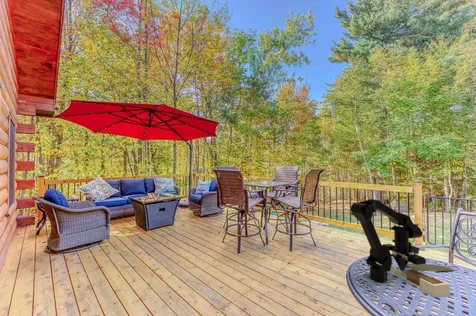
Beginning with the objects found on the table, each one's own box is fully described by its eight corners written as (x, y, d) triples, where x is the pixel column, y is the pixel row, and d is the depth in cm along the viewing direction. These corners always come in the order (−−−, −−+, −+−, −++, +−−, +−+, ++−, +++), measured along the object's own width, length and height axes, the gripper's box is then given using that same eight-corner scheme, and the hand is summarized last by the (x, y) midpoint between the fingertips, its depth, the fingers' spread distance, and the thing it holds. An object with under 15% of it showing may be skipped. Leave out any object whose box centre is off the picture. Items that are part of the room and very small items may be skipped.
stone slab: (401, 268, 117) (418, 274, 107) (400, 262, 118) (417, 268, 108) (437, 267, 119) (457, 273, 110) (436, 261, 120) (456, 267, 110)
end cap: (435, 297, 87) (434, 285, 87) (419, 288, 93) (419, 278, 93) (450, 294, 88) (449, 283, 88) (434, 287, 94) (433, 276, 94)
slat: (434, 294, 89) (434, 283, 89) (406, 279, 101) (406, 269, 101) (442, 293, 90) (441, 282, 90) (413, 278, 101) (412, 269, 102)
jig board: (436, 299, 87) (435, 297, 87) (382, 269, 112) (382, 268, 112) (449, 297, 88) (449, 295, 88) (393, 268, 113) (393, 267, 113)
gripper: (434, 244, 98) (436, 279, 97) (397, 232, 116) (398, 261, 115) (415, 246, 96) (416, 281, 95) (380, 233, 114) (381, 263, 113)
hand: (402, 270), depth 105 cm, fingers closed
